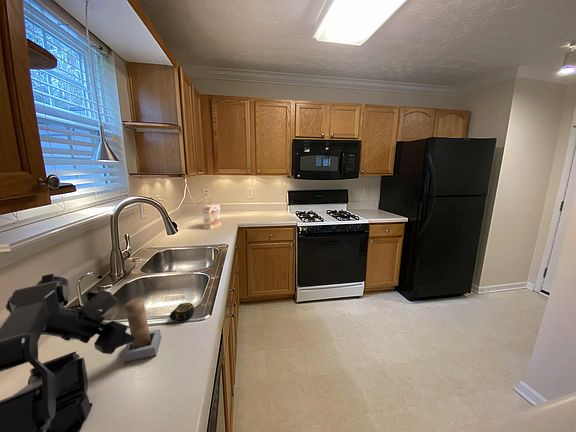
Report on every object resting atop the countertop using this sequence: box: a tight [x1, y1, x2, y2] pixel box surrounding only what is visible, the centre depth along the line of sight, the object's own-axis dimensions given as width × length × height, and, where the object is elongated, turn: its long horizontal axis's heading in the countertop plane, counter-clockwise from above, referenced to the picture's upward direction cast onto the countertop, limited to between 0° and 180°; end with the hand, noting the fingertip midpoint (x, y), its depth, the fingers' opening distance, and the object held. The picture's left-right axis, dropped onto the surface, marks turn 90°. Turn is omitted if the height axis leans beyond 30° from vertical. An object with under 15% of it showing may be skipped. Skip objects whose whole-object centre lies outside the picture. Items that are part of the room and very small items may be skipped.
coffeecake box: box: [202, 203, 222, 230], centre depth 209 cm, size 15×7×20 cm, turn 159°
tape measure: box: [169, 302, 195, 321], centre depth 87 cm, size 7×7×4 cm
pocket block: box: [121, 329, 162, 364], centre depth 71 cm, size 8×8×3 cm
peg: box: [124, 298, 151, 349], centre depth 70 cm, size 4×4×15 cm
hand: (123, 334), depth 66 cm, fingers open, 9 cm apart
